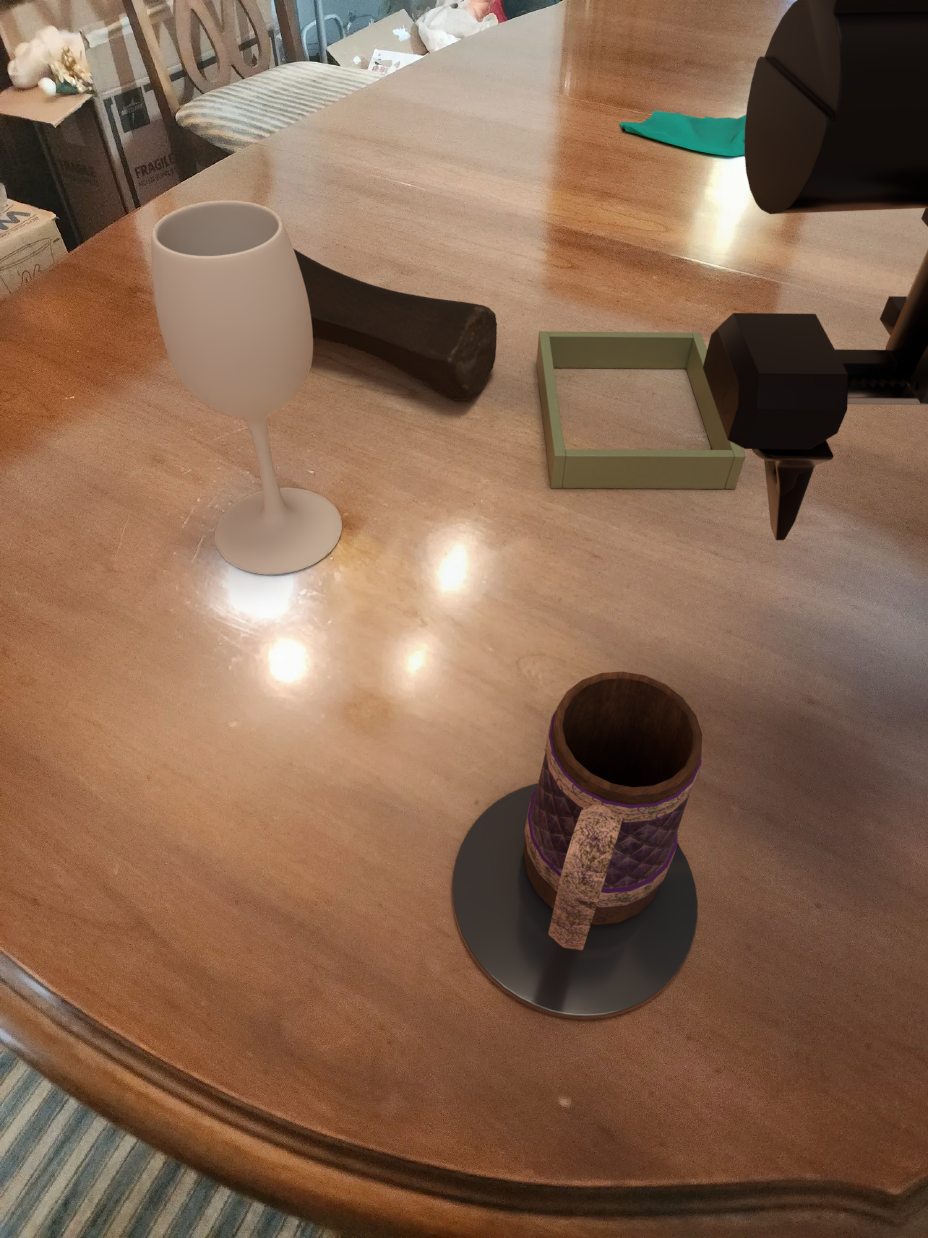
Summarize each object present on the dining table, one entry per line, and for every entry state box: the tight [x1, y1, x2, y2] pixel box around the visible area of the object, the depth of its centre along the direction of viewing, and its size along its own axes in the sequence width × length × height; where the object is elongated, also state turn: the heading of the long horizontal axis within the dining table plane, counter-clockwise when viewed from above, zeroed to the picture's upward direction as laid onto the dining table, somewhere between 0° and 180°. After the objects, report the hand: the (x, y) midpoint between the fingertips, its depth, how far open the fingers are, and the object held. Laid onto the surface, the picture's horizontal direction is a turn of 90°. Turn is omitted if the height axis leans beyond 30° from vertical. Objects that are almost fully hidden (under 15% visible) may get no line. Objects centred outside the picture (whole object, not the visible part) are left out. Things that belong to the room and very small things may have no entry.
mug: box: [523, 671, 703, 950], centre depth 37 cm, size 10×7×12 cm
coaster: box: [451, 782, 699, 1021], centre depth 42 cm, size 12×12×1 cm
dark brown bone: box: [293, 247, 498, 401], centre depth 71 cm, size 11×10×28 cm
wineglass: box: [150, 199, 343, 576], centre depth 51 cm, size 9×9×21 cm
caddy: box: [535, 330, 746, 490], centre depth 67 cm, size 14×17×3 cm
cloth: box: [619, 110, 746, 157], centre depth 107 cm, size 26×14×2 cm, turn 77°
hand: (873, 535), depth 41 cm, fingers open, 9 cm apart
